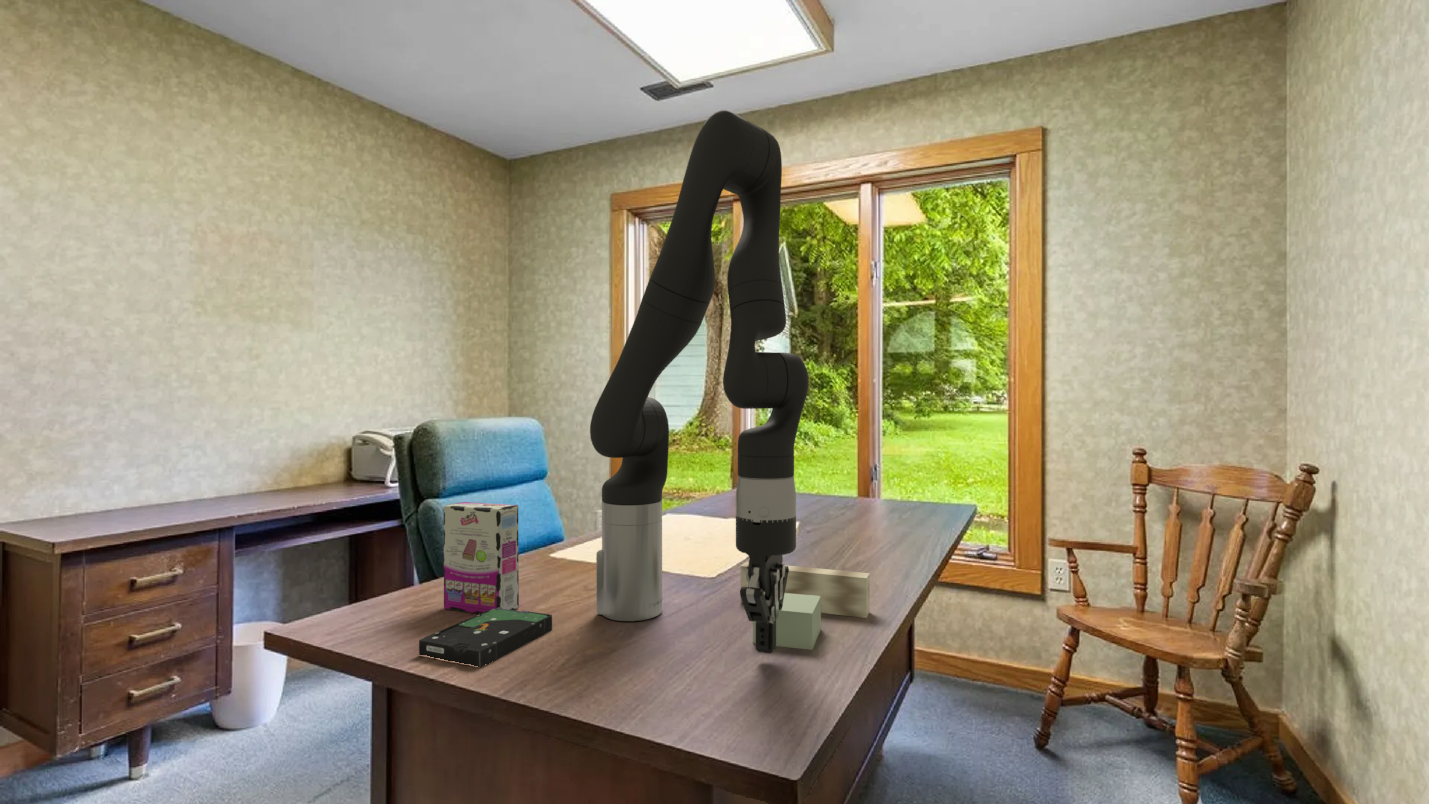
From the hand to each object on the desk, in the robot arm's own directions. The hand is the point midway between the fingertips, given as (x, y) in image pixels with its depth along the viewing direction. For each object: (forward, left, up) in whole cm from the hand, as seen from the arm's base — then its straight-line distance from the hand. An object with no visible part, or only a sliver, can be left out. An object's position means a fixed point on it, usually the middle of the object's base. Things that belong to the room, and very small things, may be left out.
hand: (765, 650), depth 83 cm
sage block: (0, +10, -2) cm, 10 cm away
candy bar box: (-48, +4, -2) cm, 48 cm away
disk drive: (-37, -7, -2) cm, 38 cm away
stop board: (-1, +23, -2) cm, 23 cm away
